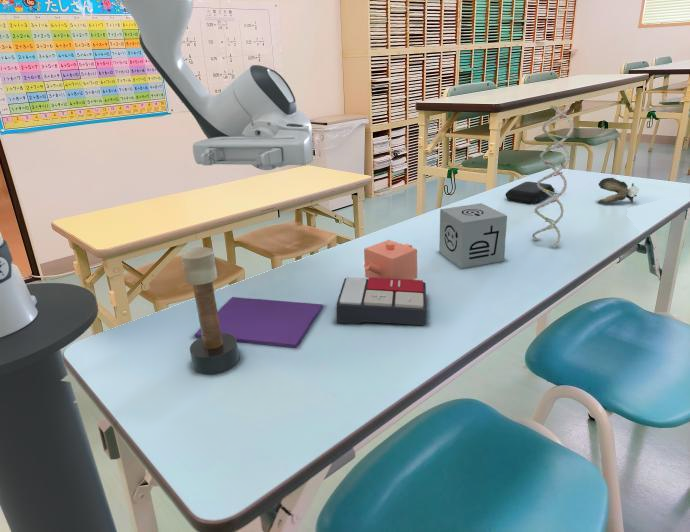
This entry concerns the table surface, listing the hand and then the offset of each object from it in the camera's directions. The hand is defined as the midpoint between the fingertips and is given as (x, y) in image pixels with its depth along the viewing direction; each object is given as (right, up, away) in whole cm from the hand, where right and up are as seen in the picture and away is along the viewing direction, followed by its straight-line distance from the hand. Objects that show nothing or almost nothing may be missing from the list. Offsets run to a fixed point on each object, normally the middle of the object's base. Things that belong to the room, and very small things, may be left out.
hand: (232, 160), depth 81 cm
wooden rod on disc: (-2, -31, -1) cm, 31 cm away
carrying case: (+72, +3, +70) cm, 100 cm away
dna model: (+63, -12, +36) cm, 74 cm away
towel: (+3, -26, +9) cm, 28 cm away
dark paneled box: (+24, -24, +11) cm, 36 cm away
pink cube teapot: (+26, -20, +21) cm, 39 cm away
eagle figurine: (+92, +1, +62) cm, 111 cm away
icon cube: (+45, -15, +32) cm, 57 cm away
